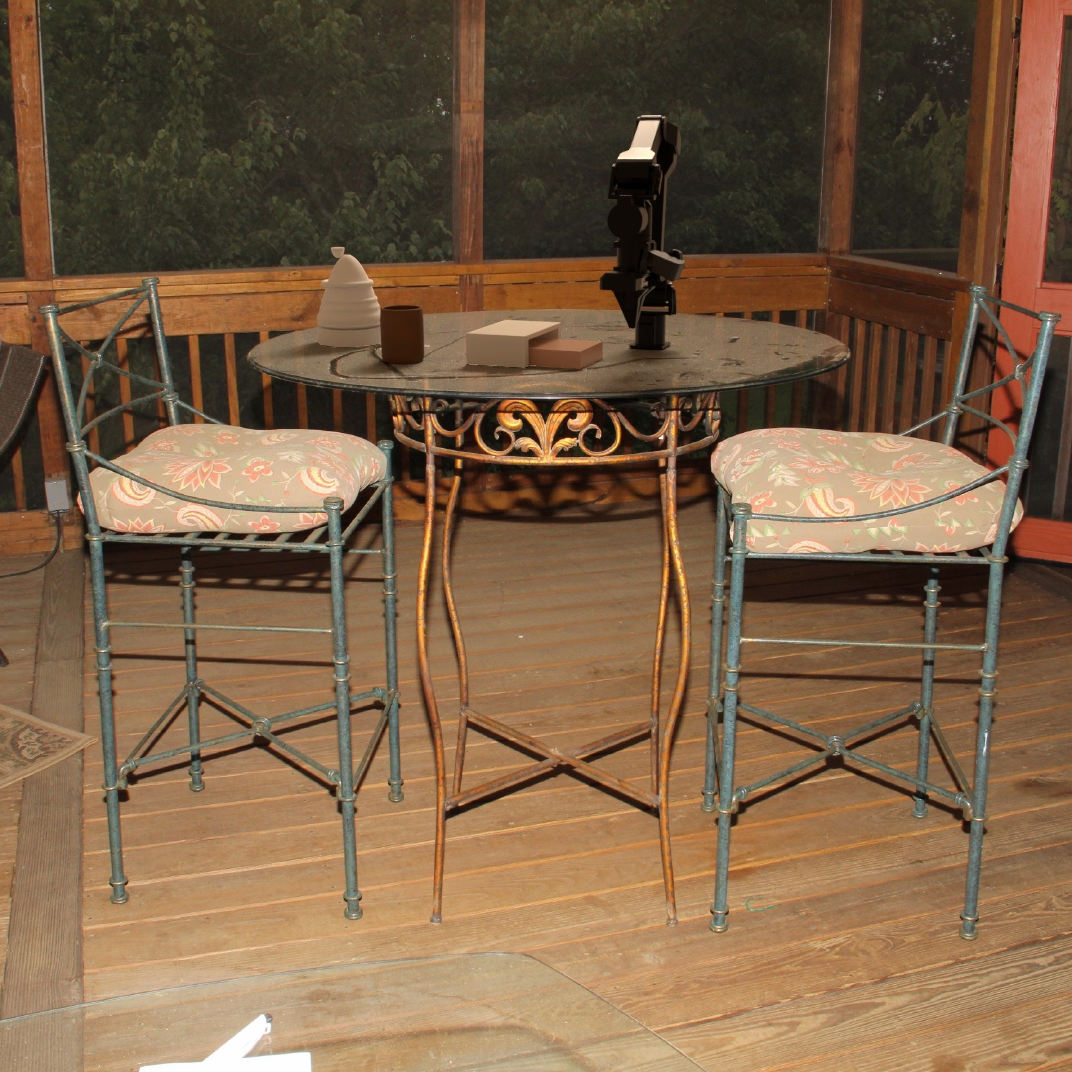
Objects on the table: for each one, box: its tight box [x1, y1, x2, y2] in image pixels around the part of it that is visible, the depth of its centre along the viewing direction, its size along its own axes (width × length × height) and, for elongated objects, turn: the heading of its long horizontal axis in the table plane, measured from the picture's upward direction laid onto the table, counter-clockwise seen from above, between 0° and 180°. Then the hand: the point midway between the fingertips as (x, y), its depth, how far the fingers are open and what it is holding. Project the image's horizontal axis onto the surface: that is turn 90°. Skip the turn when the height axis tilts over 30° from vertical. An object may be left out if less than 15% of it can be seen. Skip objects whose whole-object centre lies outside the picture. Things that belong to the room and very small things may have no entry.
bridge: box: [465, 319, 562, 368], centre depth 226 cm, size 18×11×6 cm, turn 159°
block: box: [528, 338, 604, 370], centre depth 225 cm, size 12×18×4 cm, turn 69°
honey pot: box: [316, 246, 381, 348], centre depth 243 cm, size 13×13×18 cm
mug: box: [380, 304, 425, 365], centre depth 226 cm, size 12×8×9 cm, turn 10°
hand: (632, 328), depth 217 cm, fingers closed
